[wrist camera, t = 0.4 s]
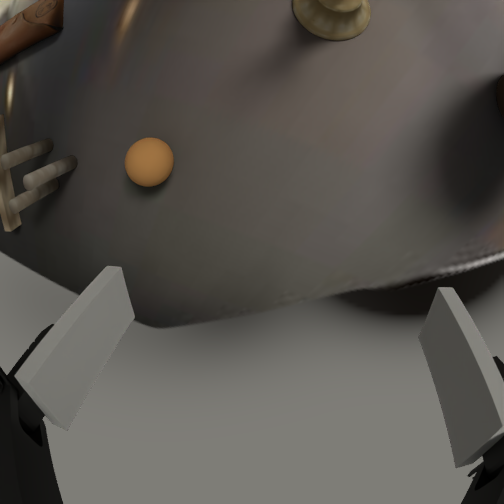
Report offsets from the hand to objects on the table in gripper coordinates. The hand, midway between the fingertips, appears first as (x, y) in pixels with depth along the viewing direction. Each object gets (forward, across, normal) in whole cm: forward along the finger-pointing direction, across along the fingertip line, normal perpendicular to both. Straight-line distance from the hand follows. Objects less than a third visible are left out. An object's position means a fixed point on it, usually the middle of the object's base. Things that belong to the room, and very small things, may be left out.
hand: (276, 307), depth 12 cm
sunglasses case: (+24, -38, +26) cm, 52 cm away
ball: (+21, -15, +2) cm, 26 cm away
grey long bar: (+23, -46, +2) cm, 52 cm away
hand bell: (+24, +4, +19) cm, 31 cm away
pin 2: (+23, -34, -1) cm, 41 cm away
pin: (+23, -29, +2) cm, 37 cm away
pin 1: (+23, -34, +5) cm, 41 cm away
